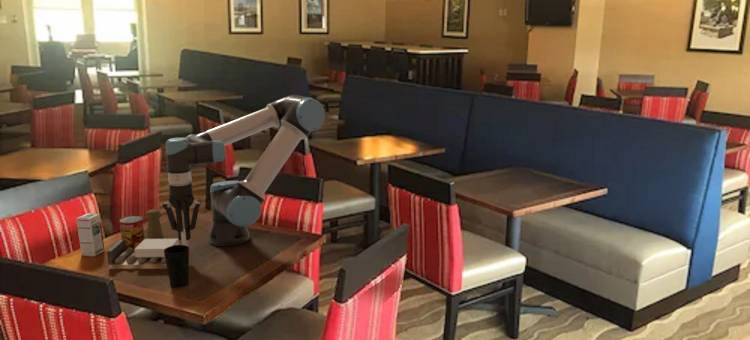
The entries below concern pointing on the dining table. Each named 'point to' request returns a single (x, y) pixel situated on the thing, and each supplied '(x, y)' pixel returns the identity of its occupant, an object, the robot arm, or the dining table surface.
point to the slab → (154, 247)
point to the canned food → (132, 231)
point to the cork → (154, 225)
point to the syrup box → (90, 234)
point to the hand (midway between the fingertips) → (185, 248)
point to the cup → (177, 265)
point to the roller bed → (140, 266)
